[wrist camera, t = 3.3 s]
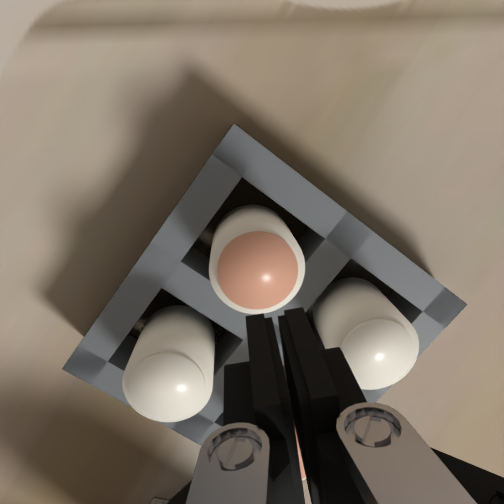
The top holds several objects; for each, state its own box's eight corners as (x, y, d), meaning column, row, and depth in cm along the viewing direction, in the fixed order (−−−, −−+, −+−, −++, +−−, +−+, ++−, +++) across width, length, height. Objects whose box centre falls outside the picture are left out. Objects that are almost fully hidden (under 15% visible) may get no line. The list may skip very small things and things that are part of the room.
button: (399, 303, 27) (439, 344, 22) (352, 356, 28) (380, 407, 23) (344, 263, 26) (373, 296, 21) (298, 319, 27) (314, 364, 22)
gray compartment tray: (436, 281, 29) (467, 304, 25) (282, 451, 33) (289, 494, 29) (233, 124, 25) (233, 123, 22) (83, 337, 29) (62, 368, 25)
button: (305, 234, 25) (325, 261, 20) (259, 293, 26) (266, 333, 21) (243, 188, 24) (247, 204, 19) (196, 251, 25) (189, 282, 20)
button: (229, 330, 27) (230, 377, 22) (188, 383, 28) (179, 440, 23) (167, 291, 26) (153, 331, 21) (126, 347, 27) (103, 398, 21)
